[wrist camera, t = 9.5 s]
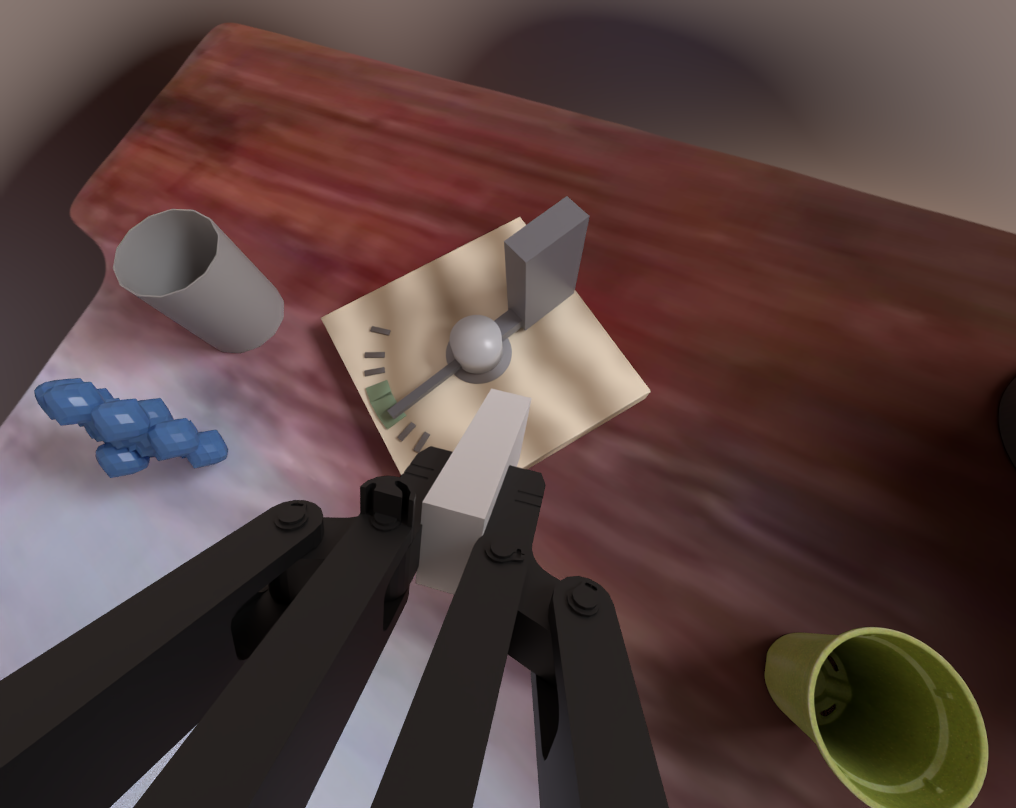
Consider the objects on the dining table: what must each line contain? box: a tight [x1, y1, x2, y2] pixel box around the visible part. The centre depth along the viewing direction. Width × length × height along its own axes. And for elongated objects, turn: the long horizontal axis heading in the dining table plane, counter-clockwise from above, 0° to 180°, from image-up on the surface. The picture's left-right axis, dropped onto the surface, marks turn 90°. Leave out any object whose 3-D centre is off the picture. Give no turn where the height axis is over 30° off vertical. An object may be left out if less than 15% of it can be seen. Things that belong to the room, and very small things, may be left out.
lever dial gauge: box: [387, 196, 589, 419], centre depth 35 cm, size 20×4×10 cm, turn 130°
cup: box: [113, 209, 284, 353], centre depth 40 cm, size 8×8×10 cm
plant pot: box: [764, 627, 988, 808], centre depth 29 cm, size 9×9×9 cm
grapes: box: [34, 378, 228, 478], centre depth 34 cm, size 12×7×12 cm, turn 70°
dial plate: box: [321, 217, 651, 475], centre depth 41 cm, size 22×22×2 cm
